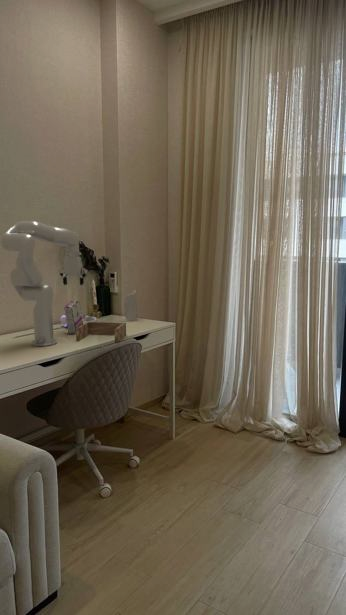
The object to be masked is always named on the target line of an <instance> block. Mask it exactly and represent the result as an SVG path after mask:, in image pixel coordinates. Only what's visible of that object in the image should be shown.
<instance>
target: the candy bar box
mask: <svg viewBox="0 0 346 615" xmlns="http://www.w3.org/2000/svg"><path fill="white" fill-rule="evenodd" d="M63 308H64V314H65V315H66V320H67V325H68V327H67V329H68V332H69V333H76V328H78V327H79V326H81V325H83V321H84V320H83V314H82V313H81V312H82V309H81V305H80V300H79V299H71V300H70V301H69V302H68V303H67V304H66V305H65V306H64V307H63Z"/></svg>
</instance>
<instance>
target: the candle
mask: <svg viewBox="0 0 346 615" xmlns="http://www.w3.org/2000/svg"><path fill="white" fill-rule="evenodd" d="M124 308H125V318H120V319H119V318H118V319H116V320H115V321H116V322H137V320H138V316H137V315H138V314H137V291H136V290H133V292H131V293H129V294H126V296H125V300H124Z"/></svg>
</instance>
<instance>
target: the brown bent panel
mask: <svg viewBox="0 0 346 615" xmlns="http://www.w3.org/2000/svg"><path fill="white" fill-rule="evenodd" d="M89 335H99V336H100V335H101V336H114V343H118V342H120V340H122V339H123V338H125V337H126V336H127V323H126V322H113V321H111V322H107V321H103V322H87V323H85V324H83V325H81V326H79V327H78V328H76V335H75V337H76V338H75V340H76V341H75V342H80V341H82V340H83V339H85V338H86V337H88V336H89Z"/></svg>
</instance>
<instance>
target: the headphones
mask: <svg viewBox="0 0 346 615" xmlns="http://www.w3.org/2000/svg"><path fill="white" fill-rule="evenodd" d="M81 315H82V316H83V318H84V319H83V320H82V321H83V324H85V323H87V322H104V320H101V319H98V318H97V317H96V316H89V315H86V314H85V313H84V312H83V311H81ZM60 323H61V324H62V326H63V327H64V328H68V325H67V320H66V315H65V313H64V314H63V315H62V316H60Z"/></svg>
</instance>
